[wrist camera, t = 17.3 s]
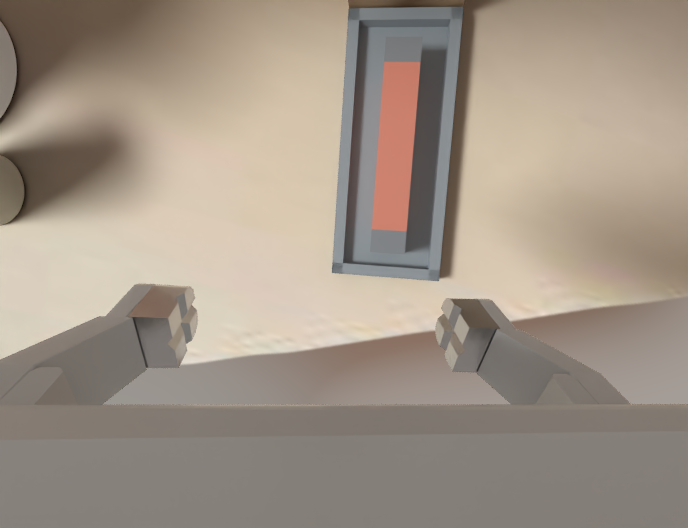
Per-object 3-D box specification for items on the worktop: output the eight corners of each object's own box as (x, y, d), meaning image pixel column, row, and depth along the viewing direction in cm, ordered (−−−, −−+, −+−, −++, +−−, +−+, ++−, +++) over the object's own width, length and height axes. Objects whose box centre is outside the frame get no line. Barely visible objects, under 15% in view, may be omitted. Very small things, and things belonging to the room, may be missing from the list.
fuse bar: (370, 251, 30) (369, 252, 27) (385, 57, 29) (385, 36, 26) (402, 253, 30) (404, 254, 27) (418, 58, 29) (422, 36, 26)
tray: (334, 271, 31) (331, 272, 30) (350, 20, 30) (348, 8, 28) (435, 279, 30) (438, 281, 29) (458, 19, 28) (463, 6, 27)
